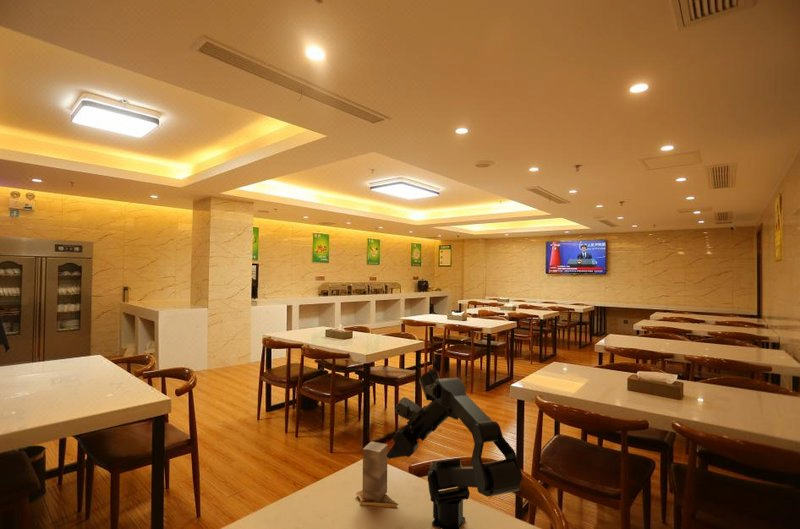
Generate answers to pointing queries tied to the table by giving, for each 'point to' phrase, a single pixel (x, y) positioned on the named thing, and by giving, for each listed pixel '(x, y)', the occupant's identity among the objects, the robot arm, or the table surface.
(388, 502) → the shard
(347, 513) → the table surface
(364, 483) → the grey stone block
